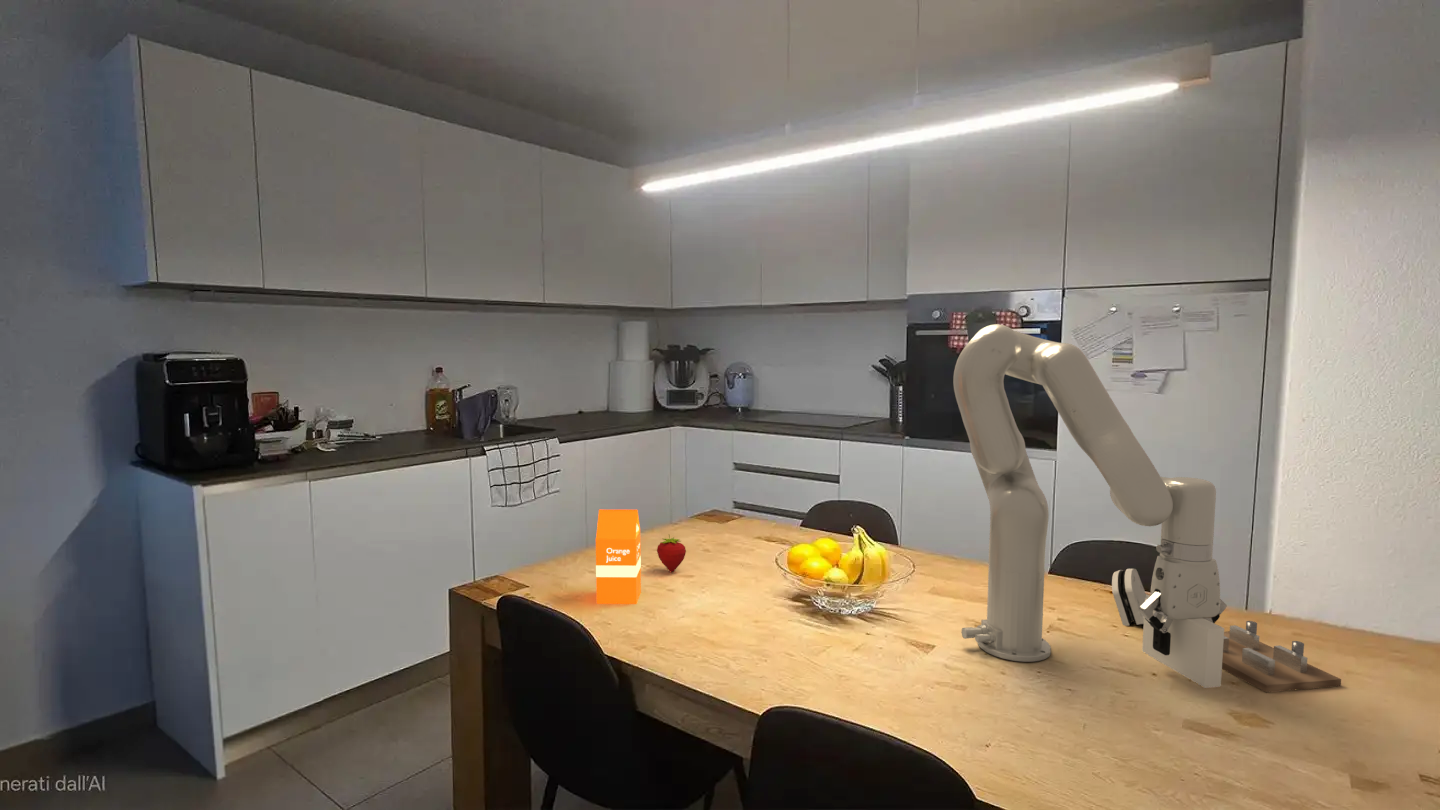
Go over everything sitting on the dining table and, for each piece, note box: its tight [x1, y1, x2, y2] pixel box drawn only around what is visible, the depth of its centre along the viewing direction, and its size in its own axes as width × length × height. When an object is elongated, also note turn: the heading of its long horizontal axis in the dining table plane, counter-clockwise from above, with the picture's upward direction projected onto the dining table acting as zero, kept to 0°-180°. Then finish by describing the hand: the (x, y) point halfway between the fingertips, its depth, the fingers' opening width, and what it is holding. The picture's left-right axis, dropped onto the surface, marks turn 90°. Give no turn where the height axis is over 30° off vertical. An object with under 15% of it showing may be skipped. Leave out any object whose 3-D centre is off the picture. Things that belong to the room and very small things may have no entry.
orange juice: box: [595, 509, 642, 605], centre depth 159 cm, size 8×9×20 cm
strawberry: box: [656, 535, 687, 573], centre depth 177 cm, size 6×8×10 cm
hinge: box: [1111, 568, 1150, 627], centre depth 149 cm, size 17×5×10 cm, turn 147°
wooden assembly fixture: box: [1222, 620, 1342, 693], centre depth 126 cm, size 14×20×5 cm
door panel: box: [1141, 599, 1225, 689], centre depth 124 cm, size 3×14×10 cm, turn 9°
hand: (1180, 649), depth 124 cm, fingers open, 6 cm apart
